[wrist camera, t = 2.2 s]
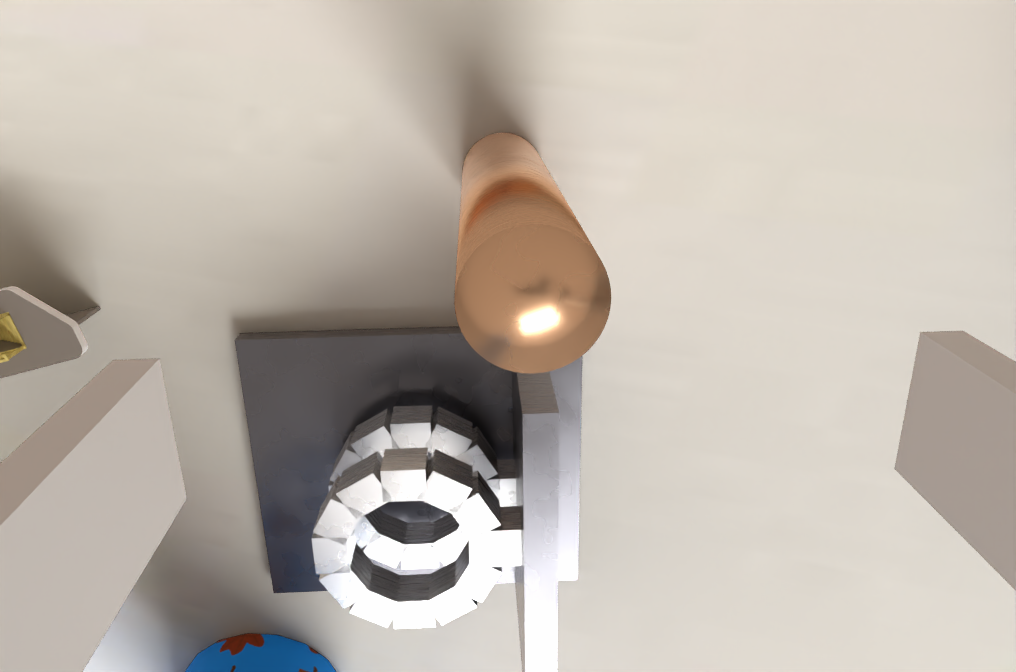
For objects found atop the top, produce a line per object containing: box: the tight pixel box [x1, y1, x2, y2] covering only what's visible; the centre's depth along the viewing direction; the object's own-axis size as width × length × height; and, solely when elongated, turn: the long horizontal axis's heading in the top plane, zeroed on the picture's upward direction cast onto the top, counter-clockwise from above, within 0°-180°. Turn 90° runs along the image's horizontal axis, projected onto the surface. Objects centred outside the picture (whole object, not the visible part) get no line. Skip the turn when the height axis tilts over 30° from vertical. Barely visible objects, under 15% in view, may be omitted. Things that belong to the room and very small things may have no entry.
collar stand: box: [235, 327, 582, 672], centre depth 39 cm, size 18×16×10 cm
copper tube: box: [454, 133, 611, 373], centre depth 29 cm, size 4×4×20 cm
